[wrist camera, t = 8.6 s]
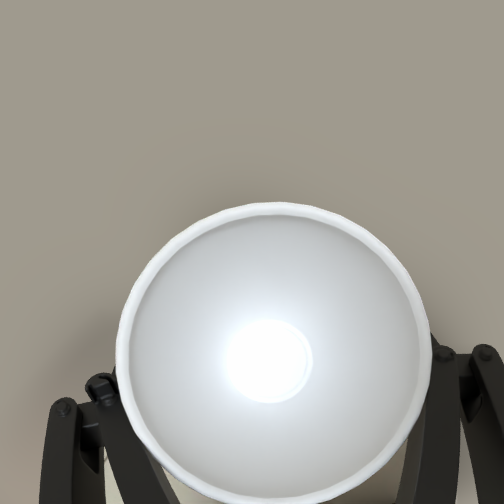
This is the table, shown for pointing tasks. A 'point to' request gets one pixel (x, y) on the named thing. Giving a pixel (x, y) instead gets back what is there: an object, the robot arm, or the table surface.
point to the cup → (273, 355)
